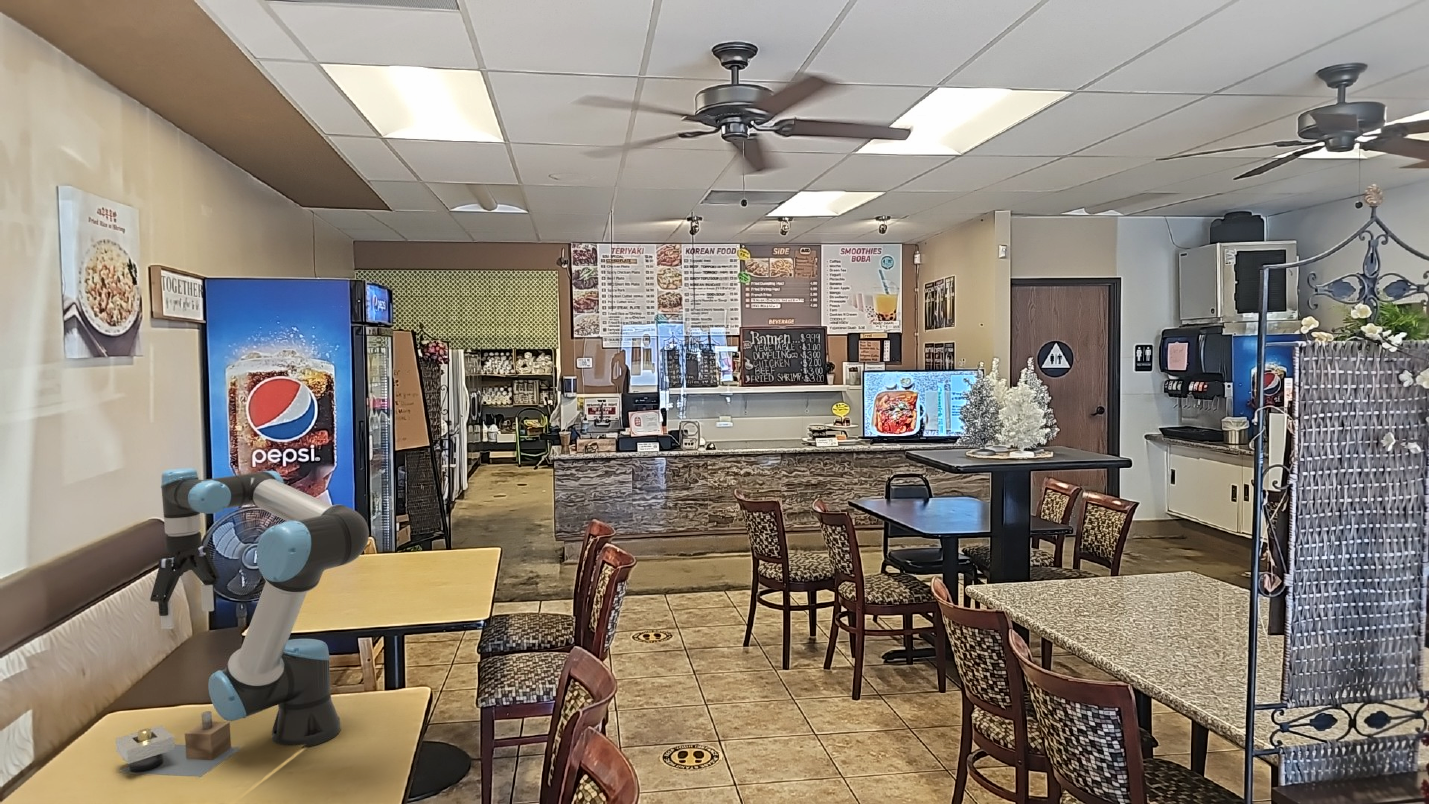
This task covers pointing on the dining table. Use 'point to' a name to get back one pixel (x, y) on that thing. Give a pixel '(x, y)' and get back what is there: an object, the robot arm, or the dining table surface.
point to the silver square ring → (145, 745)
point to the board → (185, 763)
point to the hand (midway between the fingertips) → (188, 619)
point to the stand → (207, 739)
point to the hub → (148, 762)
